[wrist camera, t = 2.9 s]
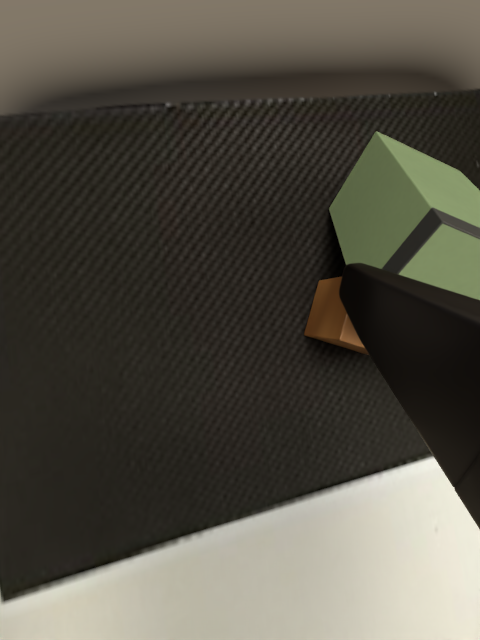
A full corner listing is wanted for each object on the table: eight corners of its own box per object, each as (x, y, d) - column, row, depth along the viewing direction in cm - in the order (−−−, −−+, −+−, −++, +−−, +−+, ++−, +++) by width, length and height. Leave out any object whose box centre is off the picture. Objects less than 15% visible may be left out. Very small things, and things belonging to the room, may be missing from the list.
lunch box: (378, 340, 27) (541, 360, 16) (298, 314, 26) (416, 316, 14) (418, 190, 28) (604, 107, 16) (342, 156, 26) (490, 38, 15)
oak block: (364, 353, 27) (412, 362, 22) (303, 335, 26) (339, 340, 21) (378, 301, 27) (428, 298, 22) (318, 280, 26) (357, 272, 21)
